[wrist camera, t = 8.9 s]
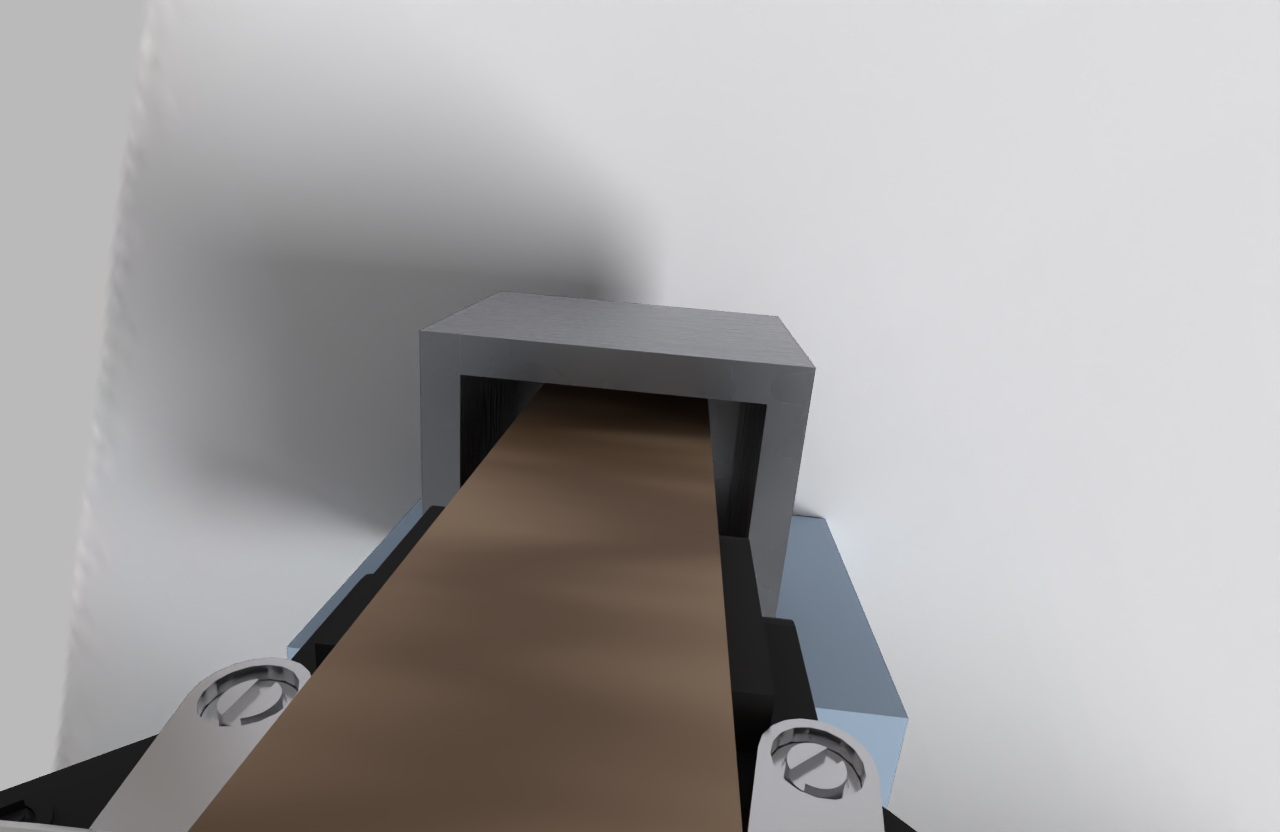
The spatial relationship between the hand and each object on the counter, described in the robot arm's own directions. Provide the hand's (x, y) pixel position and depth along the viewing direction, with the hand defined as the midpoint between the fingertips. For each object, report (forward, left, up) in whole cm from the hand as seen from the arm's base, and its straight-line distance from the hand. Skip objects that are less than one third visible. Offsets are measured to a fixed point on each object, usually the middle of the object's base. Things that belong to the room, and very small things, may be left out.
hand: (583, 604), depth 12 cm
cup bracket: (0, 0, -9) cm, 9 cm away
